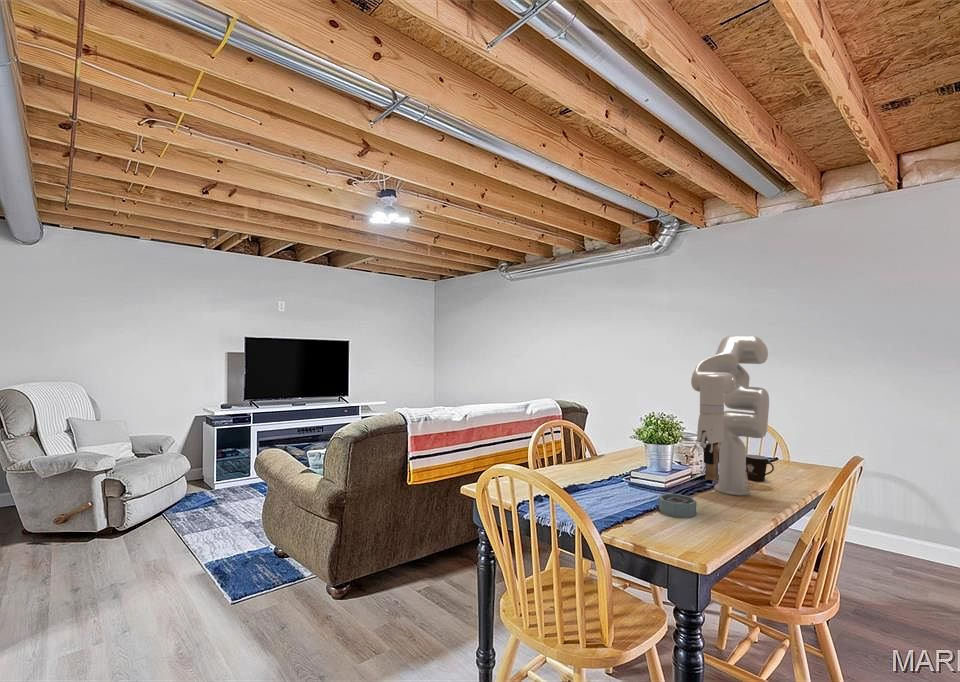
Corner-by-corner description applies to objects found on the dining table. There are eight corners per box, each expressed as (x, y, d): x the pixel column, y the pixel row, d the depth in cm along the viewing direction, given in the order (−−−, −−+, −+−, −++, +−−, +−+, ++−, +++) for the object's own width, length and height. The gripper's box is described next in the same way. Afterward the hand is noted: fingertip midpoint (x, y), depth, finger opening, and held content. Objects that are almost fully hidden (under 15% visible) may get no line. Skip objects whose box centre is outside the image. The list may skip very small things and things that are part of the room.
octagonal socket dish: (671, 504, 175) (671, 491, 175) (701, 513, 166) (701, 500, 166) (653, 510, 168) (653, 497, 168) (683, 519, 159) (683, 506, 159)
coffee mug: (740, 477, 215) (740, 454, 215) (760, 477, 214) (760, 454, 214) (754, 484, 203) (754, 460, 203) (775, 485, 203) (775, 460, 203)
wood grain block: (709, 477, 170) (709, 442, 170) (718, 479, 167) (718, 444, 167) (705, 478, 168) (705, 443, 168) (713, 480, 166) (713, 445, 165)
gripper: (713, 406, 175) (712, 457, 176) (688, 410, 166) (688, 464, 166) (734, 408, 169) (733, 461, 170) (710, 413, 160) (710, 469, 160)
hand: (711, 462), depth 168 cm, fingers closed on wood grain block, 3 cm apart
